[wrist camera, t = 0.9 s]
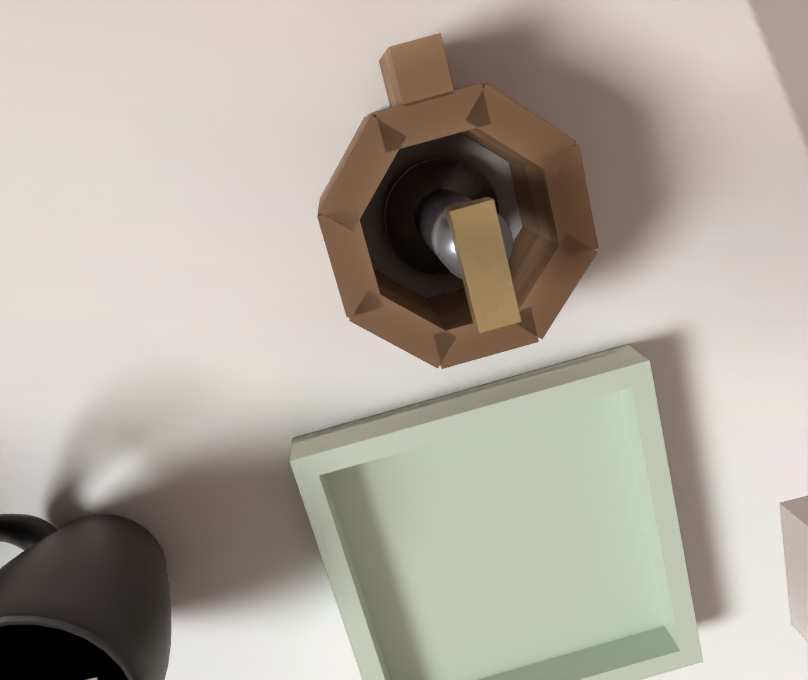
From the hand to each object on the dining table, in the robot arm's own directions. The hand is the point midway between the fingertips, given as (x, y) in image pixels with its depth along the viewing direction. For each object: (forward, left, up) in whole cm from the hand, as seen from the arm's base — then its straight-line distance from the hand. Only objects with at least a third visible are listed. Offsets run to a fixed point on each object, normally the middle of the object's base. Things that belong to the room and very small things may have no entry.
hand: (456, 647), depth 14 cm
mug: (+5, -16, -21) cm, 27 cm away
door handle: (-5, +4, -21) cm, 22 cm away
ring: (-5, +4, -21) cm, 22 cm away
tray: (+11, +3, -21) cm, 24 cm away
